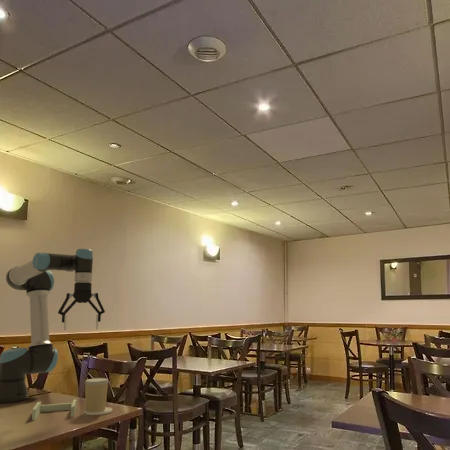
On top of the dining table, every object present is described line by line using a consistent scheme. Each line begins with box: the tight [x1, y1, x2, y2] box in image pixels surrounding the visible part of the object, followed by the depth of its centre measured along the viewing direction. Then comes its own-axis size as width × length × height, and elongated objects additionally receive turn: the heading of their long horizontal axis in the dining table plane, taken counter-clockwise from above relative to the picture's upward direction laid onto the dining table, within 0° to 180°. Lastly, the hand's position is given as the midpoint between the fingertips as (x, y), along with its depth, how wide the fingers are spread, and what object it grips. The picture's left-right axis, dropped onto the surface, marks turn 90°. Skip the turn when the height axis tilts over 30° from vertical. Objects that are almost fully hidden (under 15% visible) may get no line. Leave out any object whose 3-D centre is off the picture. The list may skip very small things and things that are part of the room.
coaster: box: [84, 406, 113, 416], centre depth 180 cm, size 11×11×1 cm
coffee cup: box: [84, 377, 109, 412], centre depth 181 cm, size 9×9×12 cm
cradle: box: [31, 399, 78, 421], centre depth 177 cm, size 15×15×4 cm
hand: (81, 329), depth 197 cm, fingers open, 13 cm apart
